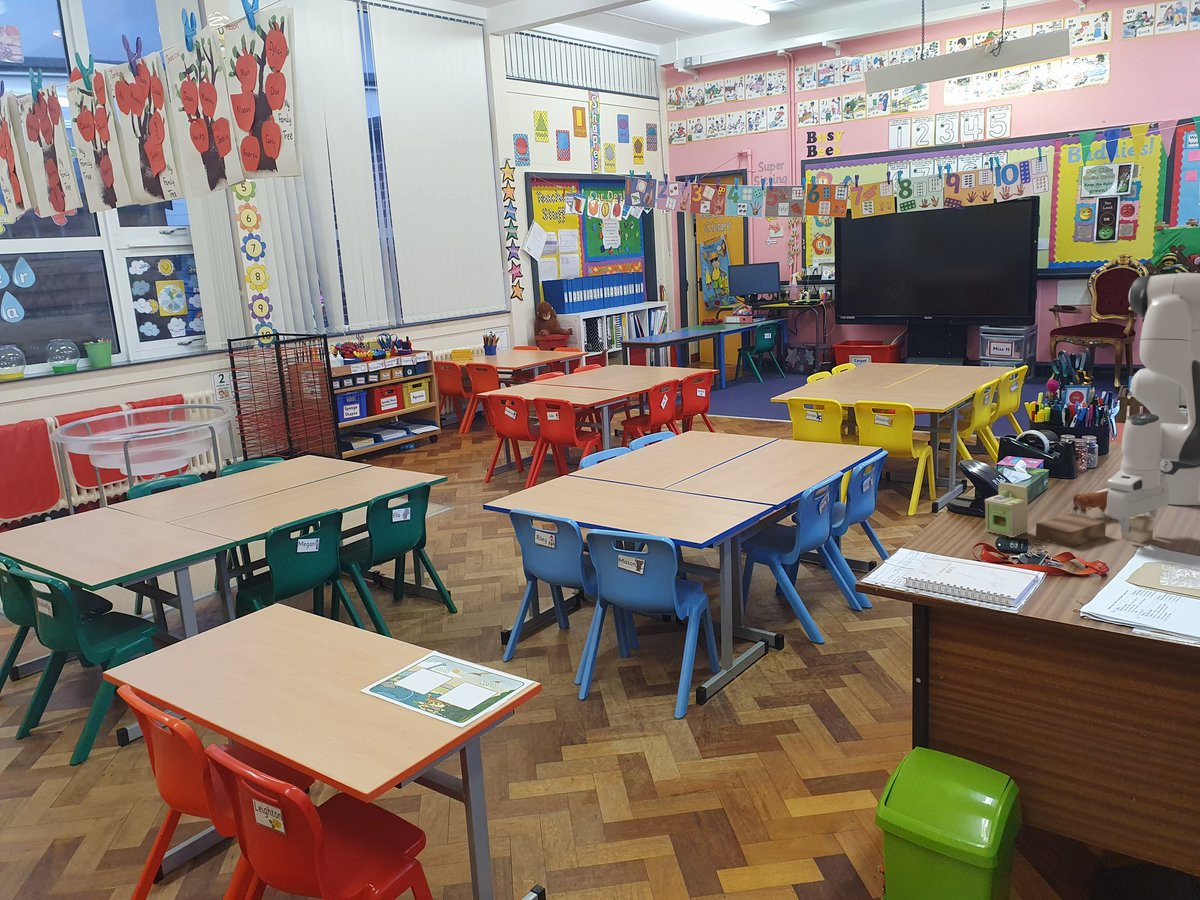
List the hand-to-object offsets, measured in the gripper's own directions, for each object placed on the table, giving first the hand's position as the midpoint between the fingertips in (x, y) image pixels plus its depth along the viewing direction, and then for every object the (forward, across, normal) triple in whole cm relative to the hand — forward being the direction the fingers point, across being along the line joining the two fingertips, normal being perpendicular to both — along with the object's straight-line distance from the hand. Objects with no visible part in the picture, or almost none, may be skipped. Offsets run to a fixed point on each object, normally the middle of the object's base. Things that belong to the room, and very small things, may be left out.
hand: (1137, 528), depth 232 cm
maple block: (+3, 0, 0) cm, 3 cm away
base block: (+3, +11, -11) cm, 16 cm away
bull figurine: (+3, -9, -18) cm, 20 cm away
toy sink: (+3, +20, -24) cm, 31 cm away
